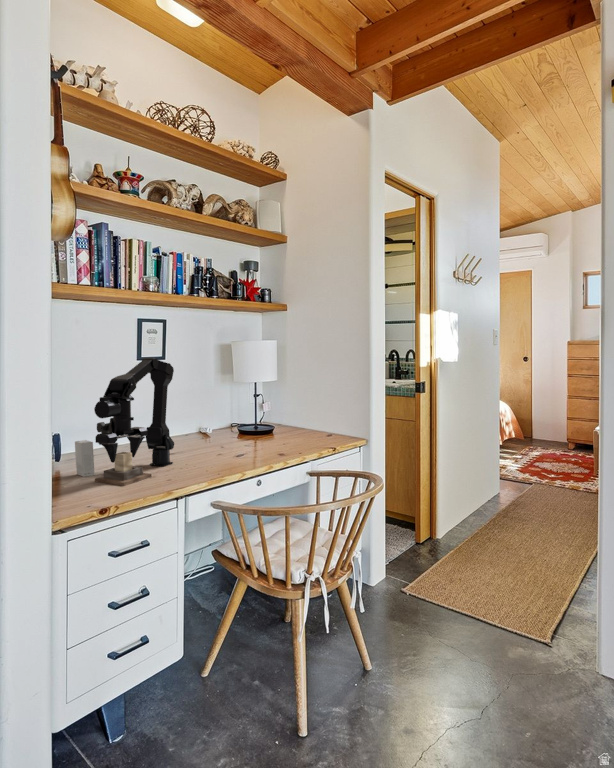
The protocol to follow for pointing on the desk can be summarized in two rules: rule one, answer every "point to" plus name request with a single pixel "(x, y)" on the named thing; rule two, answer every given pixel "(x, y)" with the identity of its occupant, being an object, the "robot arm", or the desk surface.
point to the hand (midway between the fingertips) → (123, 459)
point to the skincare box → (84, 458)
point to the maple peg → (123, 461)
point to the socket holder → (123, 476)
